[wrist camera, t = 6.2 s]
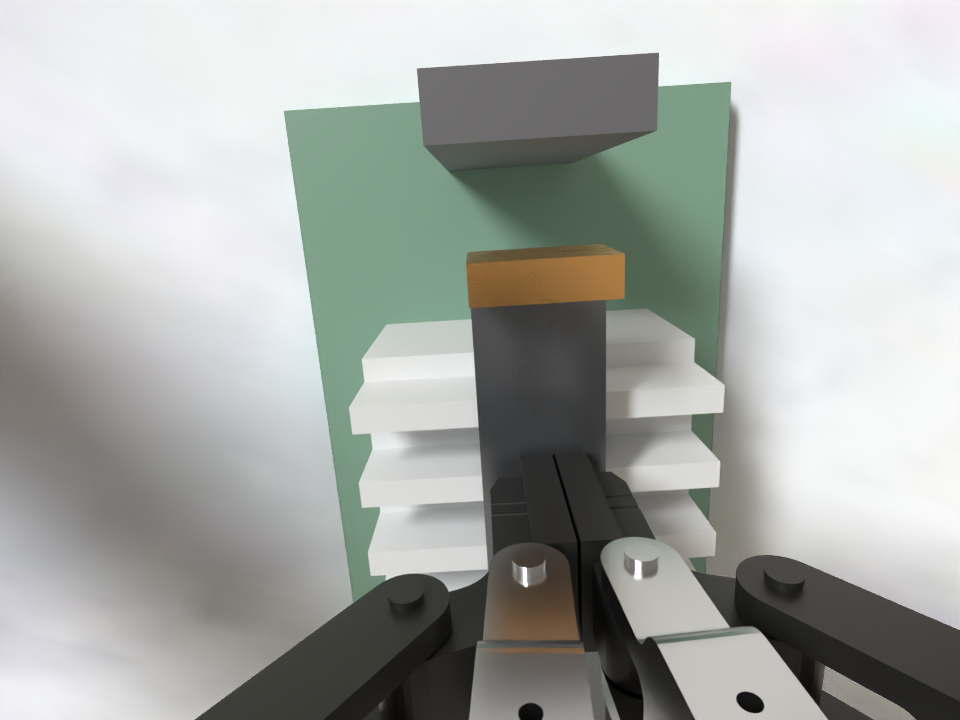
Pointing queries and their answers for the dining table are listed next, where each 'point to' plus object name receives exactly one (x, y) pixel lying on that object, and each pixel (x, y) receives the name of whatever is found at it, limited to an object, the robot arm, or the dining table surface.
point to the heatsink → (500, 226)
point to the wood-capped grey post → (542, 364)
